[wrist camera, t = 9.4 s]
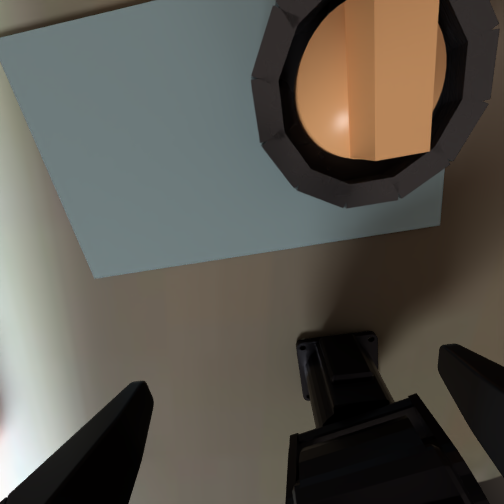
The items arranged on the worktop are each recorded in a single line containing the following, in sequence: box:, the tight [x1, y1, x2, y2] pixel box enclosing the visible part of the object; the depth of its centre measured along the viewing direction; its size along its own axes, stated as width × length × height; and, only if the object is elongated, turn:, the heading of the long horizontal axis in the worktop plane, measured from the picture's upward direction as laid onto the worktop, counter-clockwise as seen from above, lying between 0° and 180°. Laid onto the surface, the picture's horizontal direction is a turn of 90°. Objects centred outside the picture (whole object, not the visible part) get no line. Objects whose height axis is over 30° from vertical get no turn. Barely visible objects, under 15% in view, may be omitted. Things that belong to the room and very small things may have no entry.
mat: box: [0, 0, 445, 279], centre depth 17 cm, size 15×25×1 cm, turn 100°
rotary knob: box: [294, 0, 446, 161], centre depth 11 cm, size 6×6×4 cm
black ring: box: [251, 0, 499, 209], centre depth 14 cm, size 10×10×4 cm
